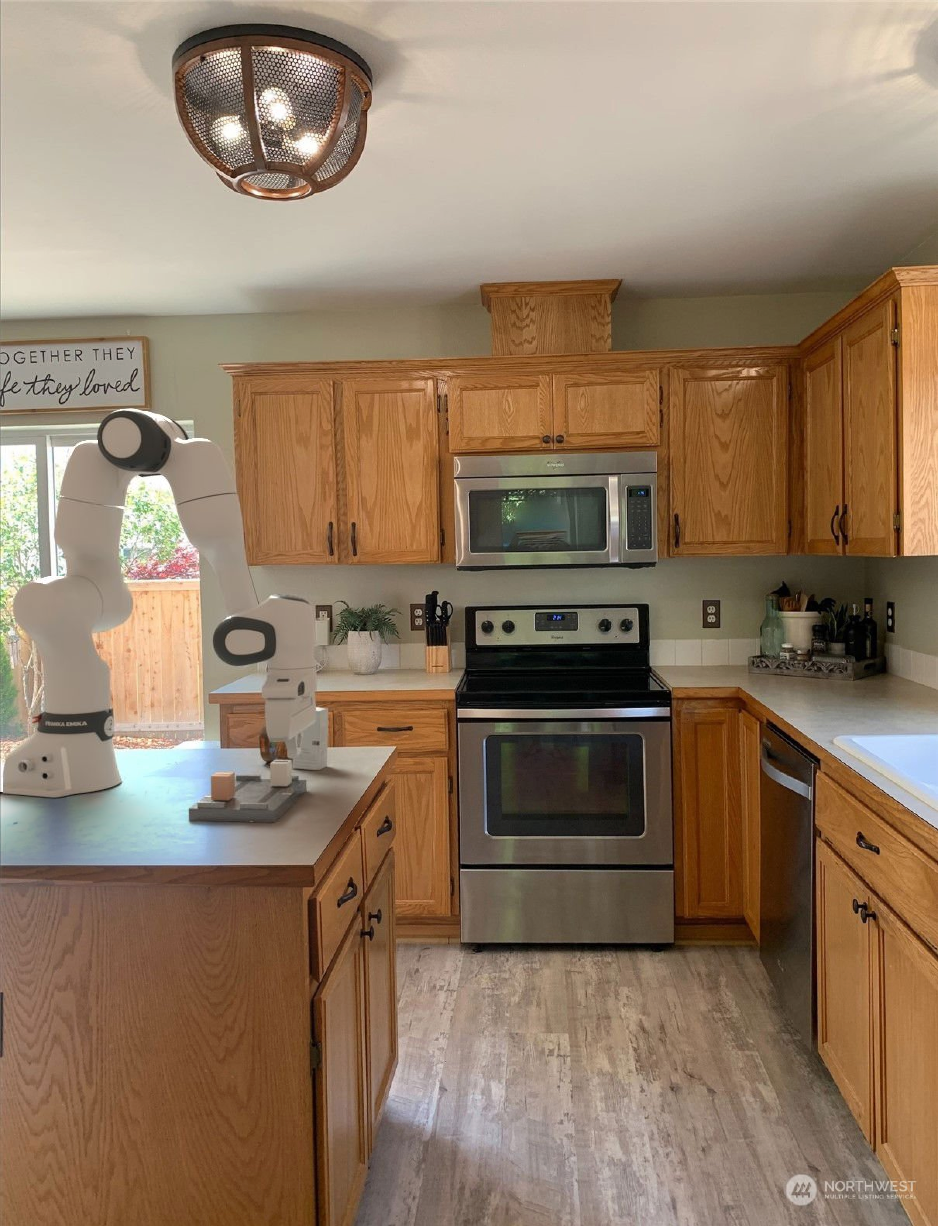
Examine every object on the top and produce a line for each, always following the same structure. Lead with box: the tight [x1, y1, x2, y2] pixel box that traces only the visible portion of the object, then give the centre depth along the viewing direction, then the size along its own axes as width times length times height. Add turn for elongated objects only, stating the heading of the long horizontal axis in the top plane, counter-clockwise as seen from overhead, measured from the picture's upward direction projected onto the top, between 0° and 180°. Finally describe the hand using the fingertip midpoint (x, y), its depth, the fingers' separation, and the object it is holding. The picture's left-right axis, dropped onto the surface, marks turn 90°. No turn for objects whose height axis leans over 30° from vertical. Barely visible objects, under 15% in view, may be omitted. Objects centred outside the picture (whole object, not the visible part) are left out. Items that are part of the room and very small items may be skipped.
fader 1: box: [210, 771, 236, 800], centre depth 150 cm, size 3×3×4 cm
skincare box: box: [292, 706, 329, 771], centre depth 181 cm, size 6×4×12 cm
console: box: [188, 774, 307, 824], centre depth 154 cm, size 14×20×3 cm
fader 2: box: [269, 759, 293, 786], centre depth 159 cm, size 3×3×4 cm
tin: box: [258, 723, 288, 763], centre depth 190 cm, size 15×3×8 cm, turn 168°
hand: (294, 756), depth 166 cm, fingers closed
